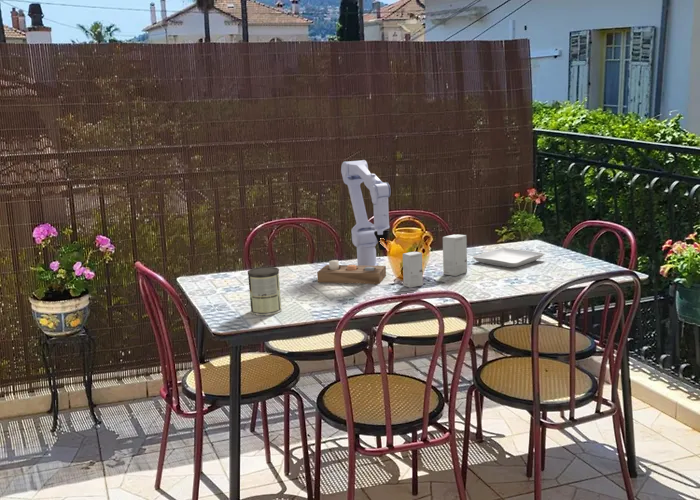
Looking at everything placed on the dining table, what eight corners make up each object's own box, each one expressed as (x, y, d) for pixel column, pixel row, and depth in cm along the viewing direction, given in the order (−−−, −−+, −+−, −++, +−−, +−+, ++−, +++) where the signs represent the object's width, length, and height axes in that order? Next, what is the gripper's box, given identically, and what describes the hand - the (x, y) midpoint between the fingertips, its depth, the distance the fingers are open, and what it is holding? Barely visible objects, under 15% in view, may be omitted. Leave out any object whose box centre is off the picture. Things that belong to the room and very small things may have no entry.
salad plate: (471, 263, 294) (471, 255, 293) (502, 254, 308) (502, 246, 307) (514, 271, 278) (514, 262, 278) (545, 261, 292) (545, 252, 291)
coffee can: (245, 311, 241) (241, 270, 238) (271, 305, 247) (268, 265, 244) (260, 317, 233) (257, 275, 230) (287, 311, 239) (284, 269, 236)
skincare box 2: (455, 276, 273) (454, 238, 270) (442, 274, 277) (441, 236, 274) (467, 272, 279) (467, 234, 276) (455, 270, 283) (454, 233, 280)
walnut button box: (326, 274, 286) (326, 264, 285) (386, 275, 279) (385, 265, 278) (317, 282, 274) (317, 272, 273) (379, 283, 268) (378, 273, 267)
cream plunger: (331, 270, 280) (330, 260, 279) (340, 271, 279) (339, 260, 278) (328, 273, 277) (328, 262, 276) (337, 273, 276) (337, 262, 275)
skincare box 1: (410, 288, 260) (409, 255, 258) (402, 285, 264) (401, 253, 261) (423, 285, 263) (422, 252, 261) (416, 282, 267) (415, 250, 264)
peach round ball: (348, 275, 279) (348, 264, 278) (357, 275, 278) (357, 264, 277) (346, 277, 275) (345, 266, 274) (355, 278, 274) (354, 266, 273)
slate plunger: (366, 277, 277) (365, 266, 276) (375, 277, 276) (375, 266, 275) (364, 280, 274) (363, 268, 273) (373, 280, 273) (372, 269, 272)
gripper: (372, 211, 282) (374, 245, 285) (368, 218, 268) (370, 253, 271) (390, 211, 281) (391, 245, 284) (387, 217, 267) (389, 253, 270)
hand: (382, 249), depth 277 cm, fingers closed
